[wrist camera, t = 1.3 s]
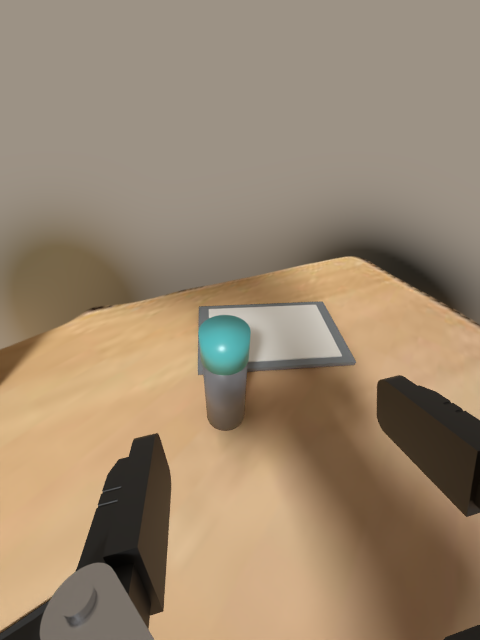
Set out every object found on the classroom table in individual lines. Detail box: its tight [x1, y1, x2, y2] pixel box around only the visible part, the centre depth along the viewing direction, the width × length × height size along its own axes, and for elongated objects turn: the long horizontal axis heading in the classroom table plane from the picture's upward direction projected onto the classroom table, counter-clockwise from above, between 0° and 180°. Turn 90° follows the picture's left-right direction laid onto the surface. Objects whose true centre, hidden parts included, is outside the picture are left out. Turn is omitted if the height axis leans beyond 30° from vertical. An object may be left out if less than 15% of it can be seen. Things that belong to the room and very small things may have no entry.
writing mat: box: [198, 302, 356, 375], centre depth 40 cm, size 20×13×1 cm, turn 96°
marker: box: [198, 315, 251, 431], centre depth 26 cm, size 4×4×12 cm
